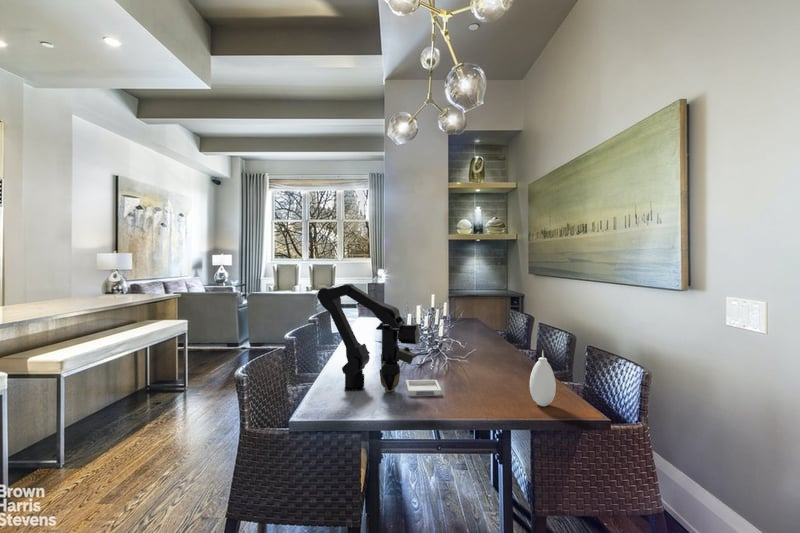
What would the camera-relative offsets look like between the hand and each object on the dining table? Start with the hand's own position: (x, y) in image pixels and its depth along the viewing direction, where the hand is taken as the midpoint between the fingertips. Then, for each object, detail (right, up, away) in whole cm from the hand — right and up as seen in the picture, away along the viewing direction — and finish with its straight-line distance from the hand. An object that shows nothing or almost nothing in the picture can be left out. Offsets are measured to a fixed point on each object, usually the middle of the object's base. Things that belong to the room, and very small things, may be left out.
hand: (389, 386), depth 136 cm
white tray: (+12, -2, +2) cm, 12 cm away
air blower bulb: (+50, -3, -12) cm, 51 cm away
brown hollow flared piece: (0, -2, 0) cm, 2 cm away
